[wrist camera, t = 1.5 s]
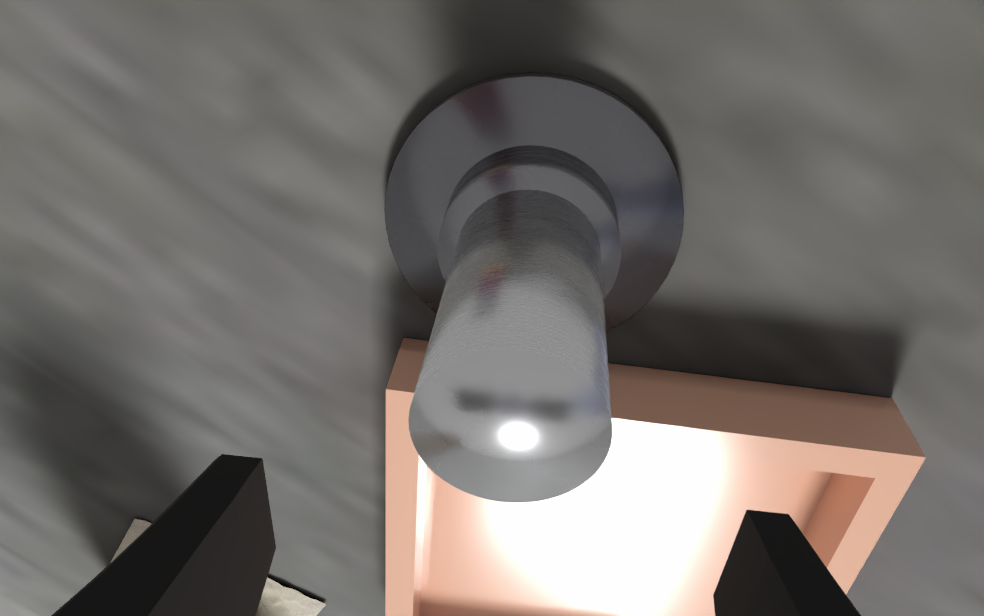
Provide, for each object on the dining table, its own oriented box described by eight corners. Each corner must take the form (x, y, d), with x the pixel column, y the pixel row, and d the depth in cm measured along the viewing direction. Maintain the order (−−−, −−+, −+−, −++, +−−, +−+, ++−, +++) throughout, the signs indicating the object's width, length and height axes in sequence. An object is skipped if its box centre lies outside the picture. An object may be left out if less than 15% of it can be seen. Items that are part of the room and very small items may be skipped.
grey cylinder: (632, 156, 18) (668, 344, 11) (601, 308, 21) (616, 534, 14) (451, 135, 18) (380, 308, 11) (443, 289, 21) (380, 503, 14)
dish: (892, 398, 22) (926, 457, 20) (752, 670, 30) (765, 732, 28) (403, 337, 22) (385, 389, 20) (398, 622, 31) (385, 679, 28)
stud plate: (715, 91, 17) (718, 96, 17) (648, 354, 22) (649, 362, 21) (388, 55, 18) (384, 59, 17) (387, 322, 22) (384, 329, 22)
